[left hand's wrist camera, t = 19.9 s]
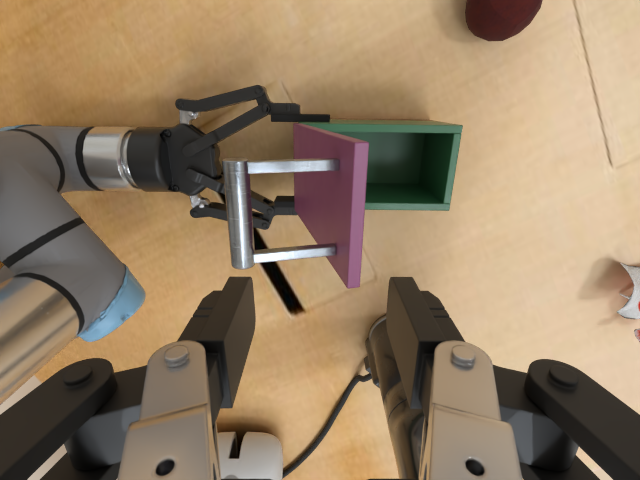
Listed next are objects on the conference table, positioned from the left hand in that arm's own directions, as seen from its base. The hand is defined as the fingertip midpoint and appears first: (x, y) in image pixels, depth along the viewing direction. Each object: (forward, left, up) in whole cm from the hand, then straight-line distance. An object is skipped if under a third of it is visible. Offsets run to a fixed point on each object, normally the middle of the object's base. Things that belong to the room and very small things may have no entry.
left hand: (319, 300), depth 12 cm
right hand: (+1, -1, -31) cm, 31 cm away
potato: (+26, -4, -38) cm, 46 cm away
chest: (+4, -5, -38) cm, 39 cm away
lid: (0, 0, -18) cm, 18 cm away
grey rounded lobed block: (-56, -30, -38) cm, 74 cm away
